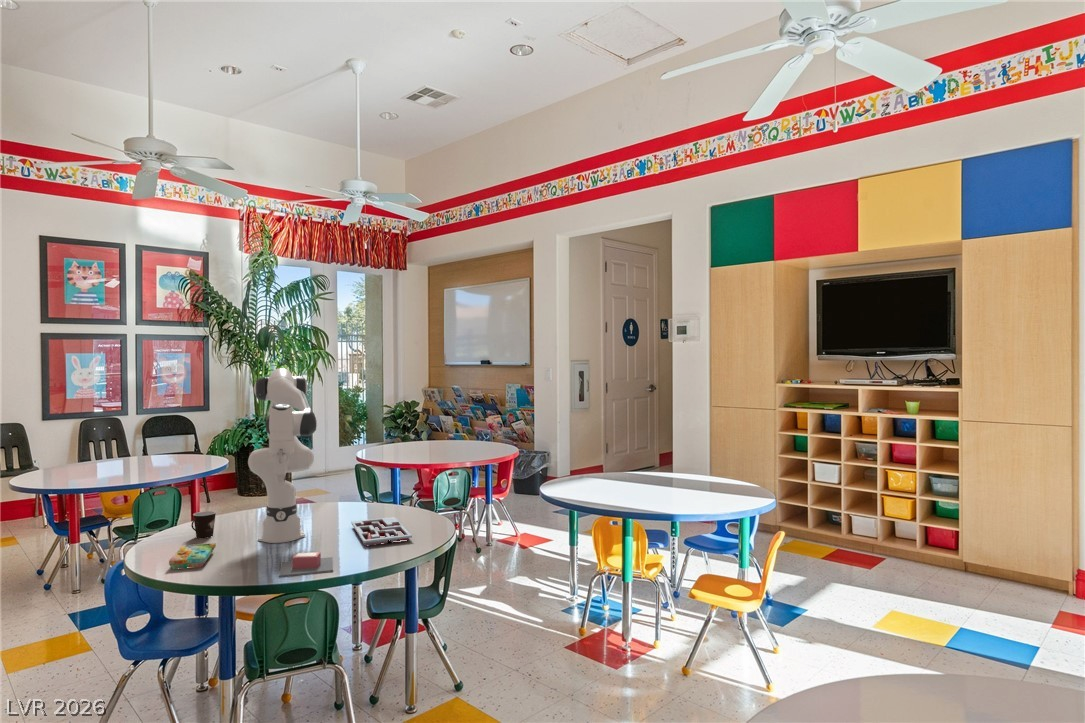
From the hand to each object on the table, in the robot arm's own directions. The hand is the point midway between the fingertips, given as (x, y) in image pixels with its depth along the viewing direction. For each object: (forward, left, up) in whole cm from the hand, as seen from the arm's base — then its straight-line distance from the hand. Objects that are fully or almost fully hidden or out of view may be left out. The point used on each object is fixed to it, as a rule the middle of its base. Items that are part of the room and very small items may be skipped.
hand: (281, 484), depth 244 cm
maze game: (-26, +38, -30) cm, 55 cm away
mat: (+11, +9, -29) cm, 32 cm away
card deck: (+11, +9, -28) cm, 32 cm away
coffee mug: (-47, -35, -29) cm, 66 cm away
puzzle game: (-12, -32, -30) cm, 45 cm away
